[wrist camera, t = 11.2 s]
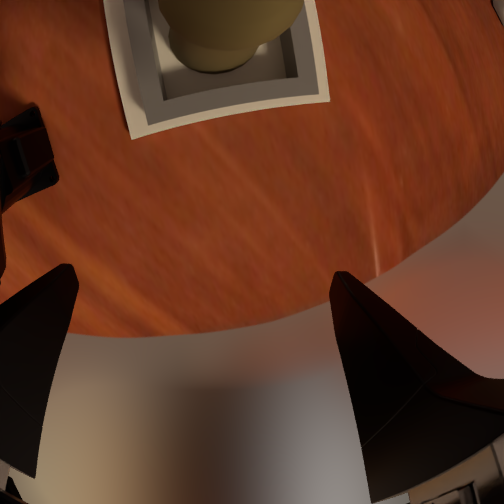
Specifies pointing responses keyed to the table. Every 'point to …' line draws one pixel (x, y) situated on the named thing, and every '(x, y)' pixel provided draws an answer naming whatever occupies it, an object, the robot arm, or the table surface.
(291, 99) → the socket
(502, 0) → the flask
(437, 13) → the table surface
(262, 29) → the cork
